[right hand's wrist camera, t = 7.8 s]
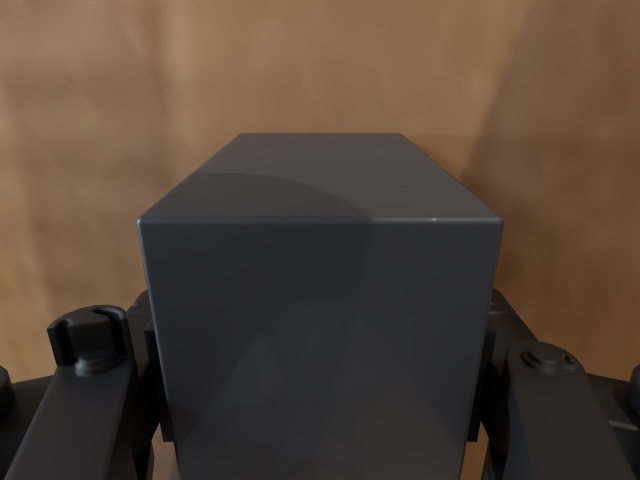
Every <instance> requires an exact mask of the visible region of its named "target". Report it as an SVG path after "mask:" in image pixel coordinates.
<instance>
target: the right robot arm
mask: <svg viewBox="0 0 640 480" xmlns="http://www.w3.org/2000/svg"><path fill="white" fill-rule="evenodd" d="M47 332H48V336H49V339H50V343H51V346H52V350H53V353H54V357H55V361H56V364H57V369H56V371H55V373H54V375H51V376H47V377H42V378H38V379H33V380H28V381H23V382H18V383H13V384H12V383H11V380H10V377H9V374H8V371H7V370H6V369H4V368H3V367H2V366H0V480H152V475H153V466H154V452H153V446H152V441H151V440H152V438H153V435H154V433H155V431H156V429H157V427H158V424H159V422H160V426H161V431H162V437H163V442H174V441H173V435H172V429H171V423H170V417H169V411H168V405H167V399H166V394H165V388H164V382H163V376H162V370H161V364H160V358H159V352H158V346H157V341H156V335H155V329H154V323H153V317H152V311H151V305H150V299H149V293H148V289H147V290H146V291H144V292H142V293H141V294H140V295H139V297H138V298H137V299H136V301H135V302H134V303H133V306H131V307H130V308H129V309H128V311H127V312H126V311H124V310H123V309H122V308H120V307H117V306H112V305H95V306H90V307H85V308H80V309H78V310H75V311H72V312H70V313H67V314H65V315H63V316H62V317H60V318H58V319H57V320H55V321H54V322H53V323H52V324H51V325H50V326H49V327H48V328H47ZM480 422H482V424H483V426H484V428H485V430H486V433H487V435H488V437H489V441H488V446H487V451H486V456H485V461H484V466H483V472H482V477H481V480H487V479H488V480H640V364H639V365H638V366H637V367H635V368H634V369H633V372H632V375H631V378H630V381H629V382H627V381H622V380H617V379H612V378H607V377H602V376H597V375H593V374H589V373H586V372H585V370H584V368H583V366H582V365H581V364H580V363H579V361H578V360H577V359H576V358H575V357H574V356H572V355H571V354H570V353H568V352H567V351H565V350H563V349H561V348H559V347H556V346H554V345H552V344H548V343H544V342H540V341H538V340H537V338H536V337H535V336H534V335H533V333H532V332H531V331H530V330H529V328H528V327H527V326H526V325H525V323H524V322H523V321H522V320H521V318H520V317H519V316H518V315H517V314H515V311H514V310H513V308H512V307H511V306H510V305H508V302H507V301H506V300H505V298H504V297H503V296H502V295H501V293H500V292H499V291H497V290H496V289H494V288H493V290H492V296H491V302H490V308H489V314H488V320H487V325H486V331H485V337H484V343H483V349H482V355H481V360H480V366H479V372H478V378H477V384H476V390H475V395H474V401H473V407H472V413H471V419H470V425H469V431H468V436H467V442H477V438H478V433H479V427H480Z"/></svg>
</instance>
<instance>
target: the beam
mask: <svg viewBox="0 0 640 480" xmlns="http://www.w3.org/2000/svg"><path fill="white" fill-rule="evenodd" d="M503 226H504V222H503V218H502V217H501V216H500V215H498V214H497V213H496V212H495V211H493V210H492V209H491V208H490V207H489V206H487V205H486V204H485V203H484V202H483V201H481V200H480V199H479V198H478V197H477V196H475V195H474V194H473V193H472V192H470V191H469V190H468V189H467V188H466V187H464V186H463V185H462V184H461V183H460V182H458V181H457V180H456V179H455V178H453V177H452V176H451V175H450V174H449V173H447V172H446V171H445V170H444V169H443V168H441V167H440V166H439V165H438V164H436V163H435V162H434V161H433V160H432V159H430V158H429V157H428V156H427V155H426V154H424V153H423V152H422V151H421V150H420V149H418V148H417V147H416V146H415V145H413V144H412V143H411V142H410V141H409V140H407V139H406V138H405V137H404V136H403V135H401V134H308V133H241V134H239V135H238V136H237V137H235V138H234V139H233V140H232V141H231V142H229V143H228V144H227V145H226V146H225V147H223V148H222V149H221V150H220V151H218V152H217V153H216V154H215V155H214V156H212V157H211V158H210V159H209V160H208V161H206V162H205V163H204V164H203V165H201V166H200V167H199V168H198V169H197V170H195V171H194V172H193V173H192V174H191V175H189V176H188V177H187V178H186V179H184V180H183V181H182V182H181V183H180V184H178V185H177V186H176V187H175V188H174V189H172V190H171V191H170V192H169V193H167V194H166V195H165V196H164V197H163V198H161V199H160V200H159V201H158V202H157V203H155V204H154V205H153V206H152V207H150V208H149V209H148V210H147V211H146V212H144V213H143V214H142V215H141V216H139V217H138V220H137V229H138V235H139V240H140V246H141V252H142V258H143V264H144V270H145V276H146V282H147V288H148V293H149V299H150V305H151V311H152V317H153V323H154V329H155V335H156V341H157V346H158V352H159V358H160V364H161V370H162V376H163V382H164V388H165V394H166V399H167V405H168V411H169V417H170V423H171V429H172V435H173V441H174V447H175V453H176V458H177V464H178V470H179V476H180V480H460V477H461V471H462V466H463V460H464V454H465V448H466V442H467V436H468V431H469V425H470V419H471V413H472V407H473V401H474V395H475V390H476V384H477V378H478V372H479V366H480V360H481V355H482V349H483V343H484V337H485V331H486V325H487V320H488V314H489V308H490V302H491V296H492V290H493V284H494V279H495V273H496V267H497V261H498V255H499V249H500V244H501V238H502V232H503Z"/></svg>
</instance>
